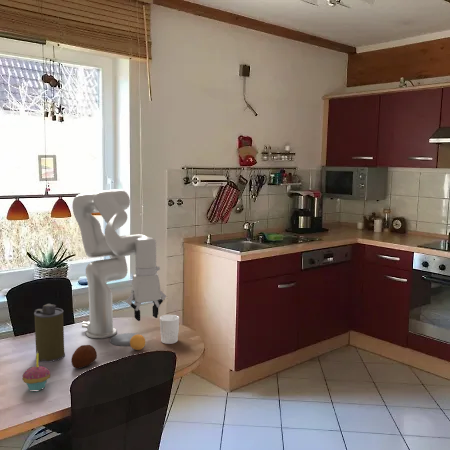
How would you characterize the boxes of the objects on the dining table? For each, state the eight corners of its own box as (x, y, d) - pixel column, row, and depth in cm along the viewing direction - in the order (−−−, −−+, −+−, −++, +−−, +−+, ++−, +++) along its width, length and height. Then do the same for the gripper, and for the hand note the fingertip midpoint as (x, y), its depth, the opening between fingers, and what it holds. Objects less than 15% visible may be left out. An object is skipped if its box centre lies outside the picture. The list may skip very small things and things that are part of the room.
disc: (103, 344, 202) (103, 343, 202) (119, 332, 216) (119, 331, 216) (135, 347, 199) (135, 347, 199) (149, 335, 212) (149, 335, 212)
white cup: (180, 337, 210) (180, 314, 209) (177, 345, 202) (177, 321, 201) (162, 337, 211) (162, 314, 209) (157, 344, 203) (157, 320, 202)
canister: (70, 353, 193) (69, 302, 190) (53, 363, 183) (51, 310, 180) (47, 349, 197) (45, 299, 194) (28, 359, 187) (26, 307, 184)
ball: (127, 351, 195) (127, 336, 194) (133, 345, 201) (133, 331, 200) (141, 353, 194) (141, 338, 193) (147, 347, 199) (147, 333, 199)
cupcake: (27, 382, 168) (26, 348, 166) (53, 382, 169) (52, 347, 167) (19, 395, 160) (17, 359, 158) (47, 394, 160) (45, 358, 159)
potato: (102, 360, 186) (102, 340, 185) (86, 373, 175) (85, 352, 174) (84, 358, 188) (83, 338, 187) (66, 371, 178) (66, 349, 176)
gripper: (163, 266, 192) (163, 312, 195) (119, 271, 183) (120, 319, 186) (171, 270, 186) (172, 317, 188) (126, 276, 177) (127, 325, 179)
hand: (146, 318), depth 187 cm, fingers open, 6 cm apart
